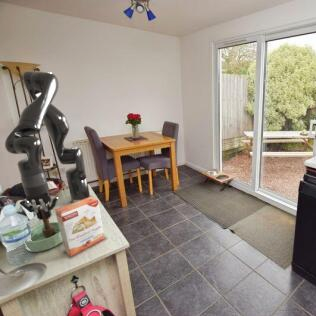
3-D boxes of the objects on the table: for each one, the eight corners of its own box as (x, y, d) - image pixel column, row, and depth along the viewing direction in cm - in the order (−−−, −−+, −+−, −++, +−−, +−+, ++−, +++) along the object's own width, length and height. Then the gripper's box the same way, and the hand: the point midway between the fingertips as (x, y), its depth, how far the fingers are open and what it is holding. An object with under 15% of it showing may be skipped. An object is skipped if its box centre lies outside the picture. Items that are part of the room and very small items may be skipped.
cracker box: (71, 257, 92) (60, 214, 85) (64, 251, 95) (53, 209, 88) (105, 239, 103) (98, 199, 96) (98, 234, 106) (91, 195, 99)
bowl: (35, 234, 104) (32, 224, 102) (71, 229, 108) (69, 219, 107) (18, 255, 91) (14, 245, 89) (59, 249, 96) (56, 238, 94)
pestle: (46, 233, 102) (39, 206, 97) (57, 231, 103) (50, 205, 98) (42, 238, 98) (34, 211, 93) (53, 237, 99) (45, 210, 95)
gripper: (58, 177, 97) (66, 211, 103) (19, 180, 93) (30, 215, 99) (51, 185, 91) (60, 220, 96) (8, 188, 86) (20, 225, 92)
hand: (45, 218), depth 98 cm, fingers closed on pestle, 2 cm apart
